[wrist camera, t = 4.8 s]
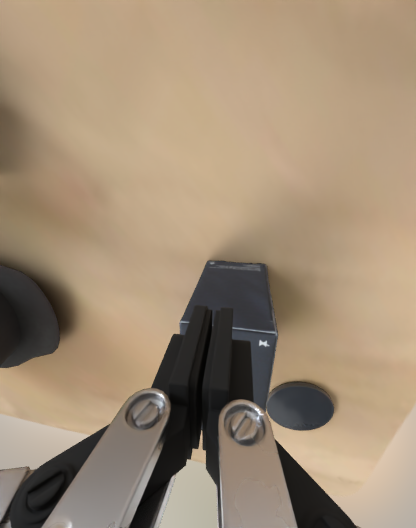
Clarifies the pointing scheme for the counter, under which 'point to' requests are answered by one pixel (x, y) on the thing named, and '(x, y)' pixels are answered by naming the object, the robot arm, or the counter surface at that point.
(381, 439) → the counter surface
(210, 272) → the small box
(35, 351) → the casserole
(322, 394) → the slate coaster
